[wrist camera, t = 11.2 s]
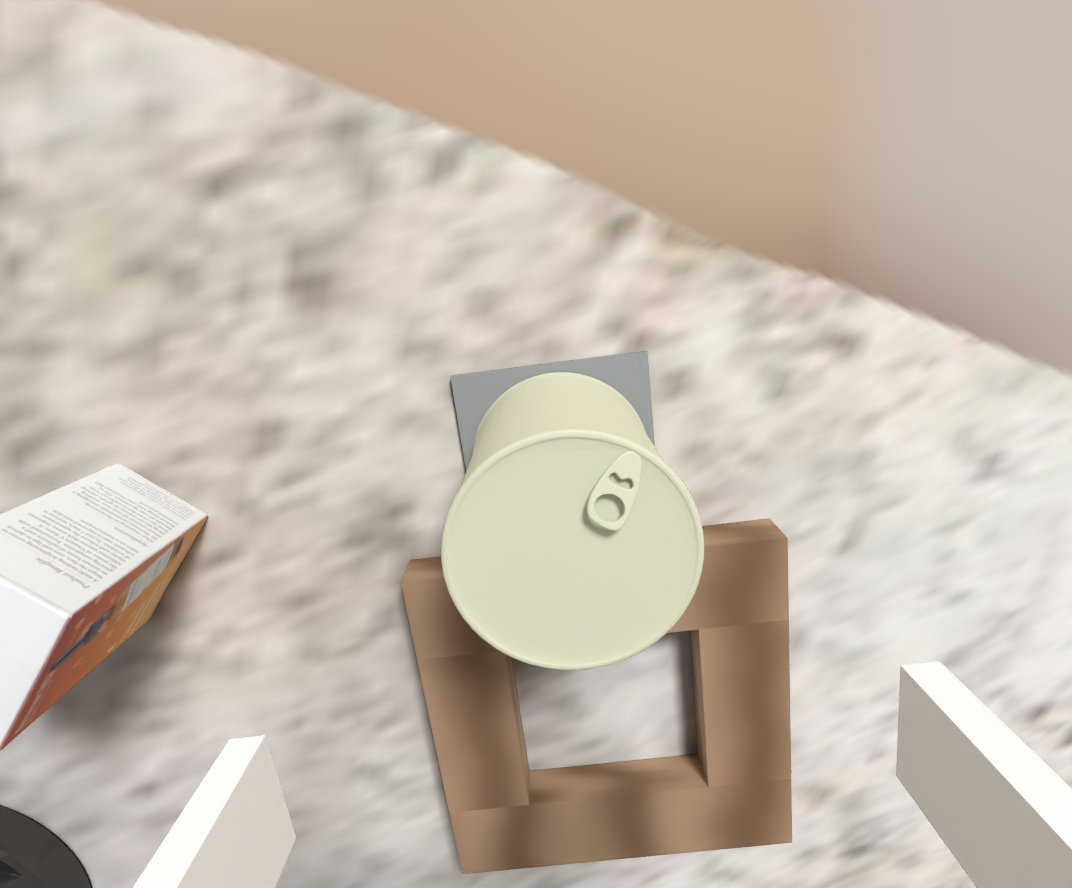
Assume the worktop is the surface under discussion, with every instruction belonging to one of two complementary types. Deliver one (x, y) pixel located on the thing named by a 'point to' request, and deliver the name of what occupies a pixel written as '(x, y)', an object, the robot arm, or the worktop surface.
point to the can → (570, 528)
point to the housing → (631, 786)
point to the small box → (81, 582)
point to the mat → (488, 386)
